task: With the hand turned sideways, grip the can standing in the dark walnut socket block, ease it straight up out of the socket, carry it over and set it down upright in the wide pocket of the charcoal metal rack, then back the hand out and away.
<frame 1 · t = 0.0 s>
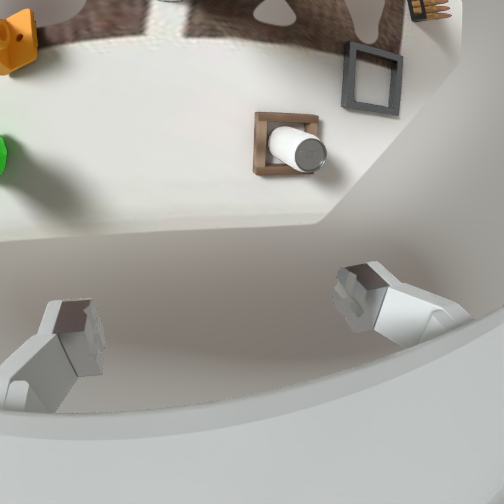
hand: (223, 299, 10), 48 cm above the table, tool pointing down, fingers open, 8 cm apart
ammunition clip: (409, 1, 46), on the table
socket block: (283, 142, 57), on the table
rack: (371, 79, 55), on the table
can: (282, 142, 57), resting in socket block
bracket: (20, 42, 33), on the table
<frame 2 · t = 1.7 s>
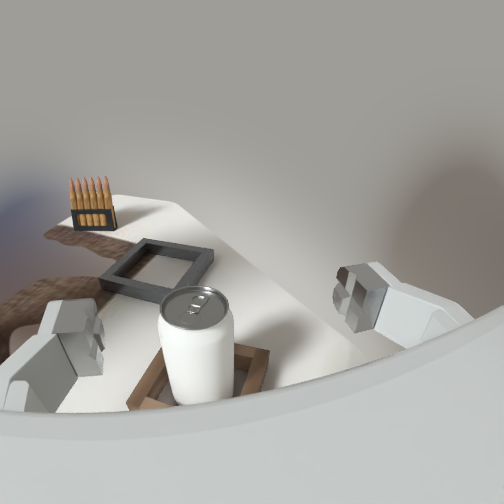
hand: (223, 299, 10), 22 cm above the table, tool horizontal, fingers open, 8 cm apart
ammunition clip: (95, 229, 64), on the table
socket block: (203, 391, 31), on the table
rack: (159, 273, 50), on the table
can: (203, 392, 31), resting in socket block
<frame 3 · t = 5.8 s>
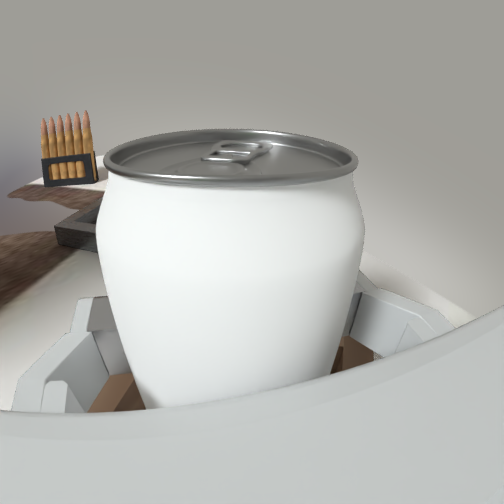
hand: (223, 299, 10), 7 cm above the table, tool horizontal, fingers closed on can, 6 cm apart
ammunition clip: (70, 184, 46), on the table
socket block: (232, 430, 13), on the table
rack: (148, 223, 32), on the table
can: (232, 432, 13), resting in socket block, touching gripper
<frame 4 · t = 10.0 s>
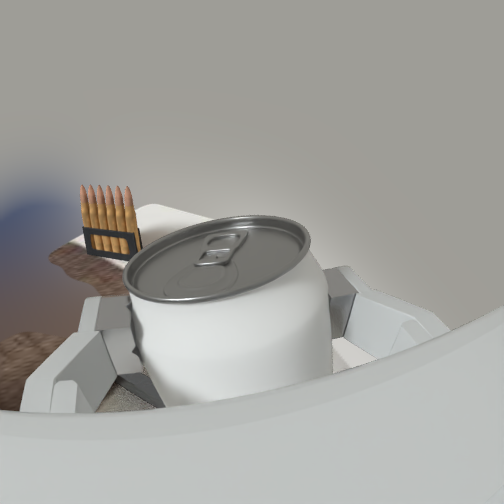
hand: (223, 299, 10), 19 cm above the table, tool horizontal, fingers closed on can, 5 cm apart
ammunition clip: (114, 256, 48), on the table
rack: (190, 357, 31), on the table
can: (269, 458, 14), point 9 cm above the table, touching gripper
when the fingers open (9 cm above the table, at t = 13.1 s): can stays where it is, resting in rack.
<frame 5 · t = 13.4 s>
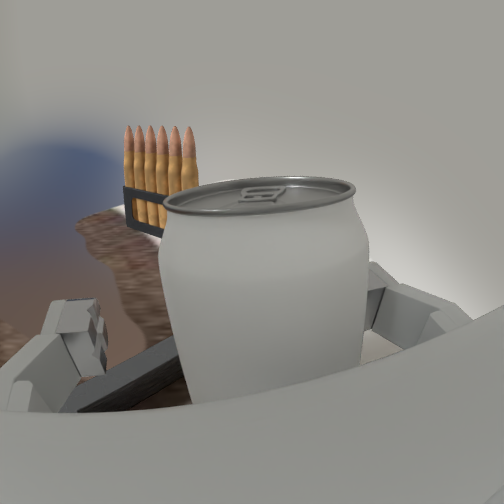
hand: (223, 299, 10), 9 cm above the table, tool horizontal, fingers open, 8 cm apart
ammunition clip: (162, 235, 34), on the table
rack: (231, 447, 14), on the table
can: (276, 447, 13), resting in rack, touching gripper
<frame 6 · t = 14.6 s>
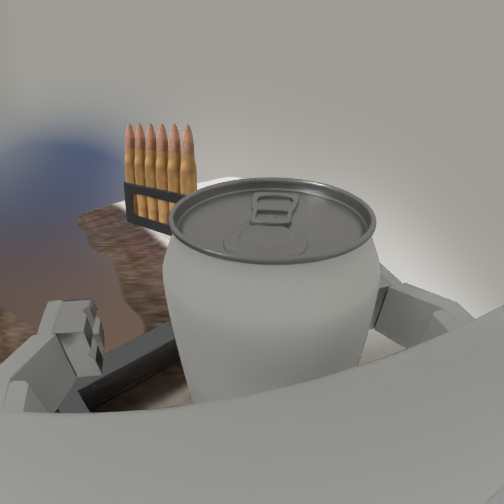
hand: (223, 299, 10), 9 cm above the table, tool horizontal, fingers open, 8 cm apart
ammunition clip: (161, 229, 35), on the table
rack: (224, 427, 15), on the table
can: (267, 431, 14), resting in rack
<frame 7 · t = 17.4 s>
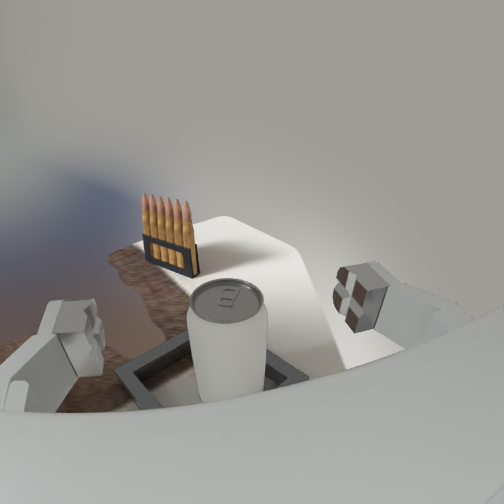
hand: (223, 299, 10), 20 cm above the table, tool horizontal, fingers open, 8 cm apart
ammunition clip: (171, 267, 51), on the table
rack: (209, 389, 30), on the table
can: (231, 393, 30), resting in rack
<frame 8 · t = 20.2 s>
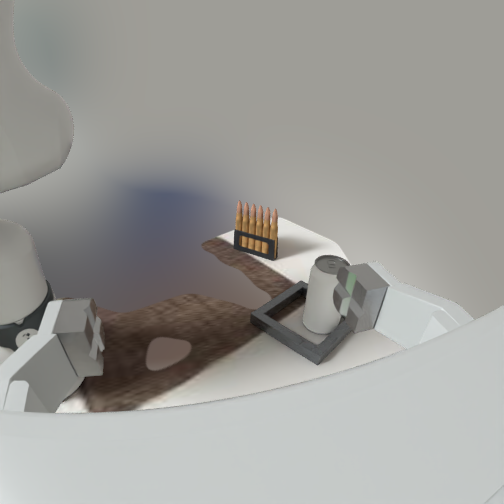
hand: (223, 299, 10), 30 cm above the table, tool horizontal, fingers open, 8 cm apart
ammunition clip: (254, 253, 74), on the table
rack: (307, 322, 53), on the table
can: (320, 323, 53), resting in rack
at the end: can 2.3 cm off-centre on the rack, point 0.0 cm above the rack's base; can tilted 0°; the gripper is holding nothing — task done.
